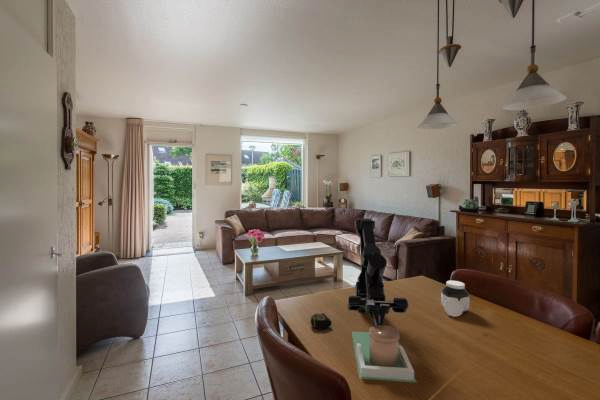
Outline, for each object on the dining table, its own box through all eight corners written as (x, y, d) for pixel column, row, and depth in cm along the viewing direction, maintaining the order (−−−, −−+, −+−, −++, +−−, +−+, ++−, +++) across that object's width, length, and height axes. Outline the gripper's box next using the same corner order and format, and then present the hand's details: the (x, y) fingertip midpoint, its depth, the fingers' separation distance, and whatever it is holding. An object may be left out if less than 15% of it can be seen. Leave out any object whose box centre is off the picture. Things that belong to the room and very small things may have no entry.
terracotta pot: (379, 350, 90) (380, 322, 90) (404, 363, 84) (405, 333, 84) (362, 360, 85) (363, 331, 85) (387, 375, 79) (388, 343, 78)
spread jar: (460, 306, 125) (461, 280, 125) (477, 318, 114) (478, 289, 114) (433, 306, 125) (434, 280, 125) (448, 318, 114) (448, 289, 113)
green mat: (351, 332, 102) (351, 331, 102) (394, 335, 101) (394, 333, 101) (359, 379, 77) (359, 378, 77) (416, 383, 76) (416, 382, 76)
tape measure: (332, 329, 105) (332, 319, 105) (314, 332, 103) (314, 321, 103) (324, 321, 111) (325, 311, 111) (308, 323, 109) (308, 313, 109)
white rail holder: (356, 351, 90) (356, 343, 90) (402, 353, 89) (402, 346, 89) (361, 376, 78) (361, 367, 78) (413, 380, 77) (414, 371, 76)
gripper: (398, 295, 104) (405, 341, 93) (346, 293, 106) (347, 338, 95) (404, 280, 96) (413, 329, 85) (347, 278, 98) (349, 326, 87)
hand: (379, 331), depth 88 cm, fingers closed
